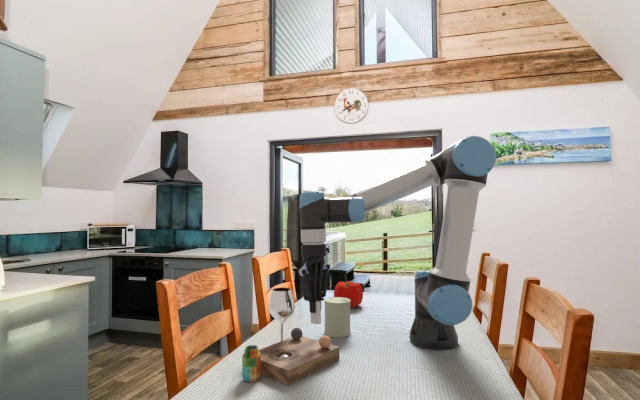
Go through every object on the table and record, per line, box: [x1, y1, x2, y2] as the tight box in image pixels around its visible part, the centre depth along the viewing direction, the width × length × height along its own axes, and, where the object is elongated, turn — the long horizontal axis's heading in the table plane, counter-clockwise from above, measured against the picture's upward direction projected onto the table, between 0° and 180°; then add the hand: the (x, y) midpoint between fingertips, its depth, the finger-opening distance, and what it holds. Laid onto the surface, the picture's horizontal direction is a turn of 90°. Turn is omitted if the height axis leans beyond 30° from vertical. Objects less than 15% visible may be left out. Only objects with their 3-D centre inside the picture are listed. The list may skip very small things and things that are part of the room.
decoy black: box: [290, 327, 303, 340], centre depth 114 cm, size 4×4×4 cm
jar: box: [241, 344, 261, 383], centre depth 95 cm, size 5×5×8 cm
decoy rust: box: [318, 334, 332, 348], centre depth 107 cm, size 4×4×4 cm
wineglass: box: [268, 287, 296, 342], centre depth 118 cm, size 8×8×18 cm
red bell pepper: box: [333, 280, 364, 309], centre depth 169 cm, size 14×13×10 cm
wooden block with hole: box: [259, 335, 340, 386], centre depth 105 cm, size 16×21×4 cm
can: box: [323, 296, 351, 339], centre depth 132 cm, size 9×9×12 cm
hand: (315, 322), depth 112 cm, fingers closed
